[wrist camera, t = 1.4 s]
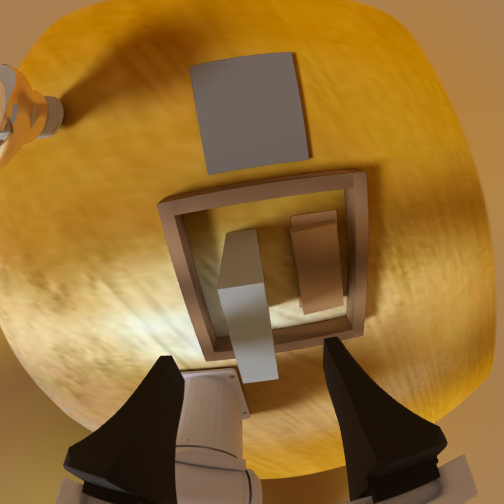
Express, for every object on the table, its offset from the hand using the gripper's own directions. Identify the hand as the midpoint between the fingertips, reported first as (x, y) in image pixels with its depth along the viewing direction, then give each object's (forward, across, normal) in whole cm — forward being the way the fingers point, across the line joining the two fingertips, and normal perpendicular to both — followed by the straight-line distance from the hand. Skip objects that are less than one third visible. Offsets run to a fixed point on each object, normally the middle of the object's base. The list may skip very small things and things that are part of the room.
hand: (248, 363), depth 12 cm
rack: (+10, -2, +1) cm, 10 cm away
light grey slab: (+10, 0, +1) cm, 10 cm away
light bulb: (+11, +13, -15) cm, 23 cm away
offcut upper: (+10, -5, +2) cm, 11 cm away
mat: (+11, -2, -11) cm, 15 cm away
